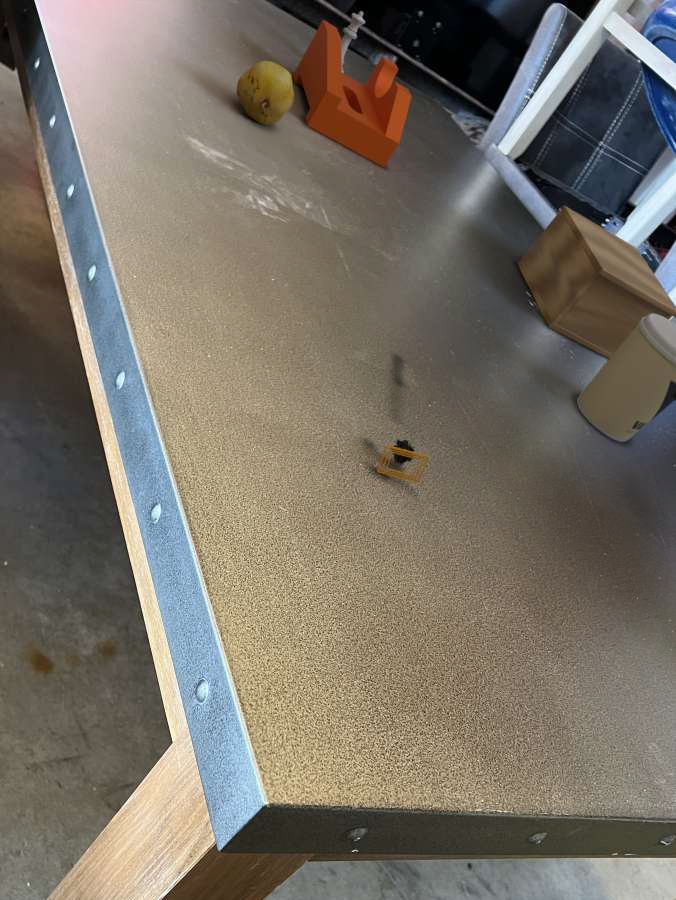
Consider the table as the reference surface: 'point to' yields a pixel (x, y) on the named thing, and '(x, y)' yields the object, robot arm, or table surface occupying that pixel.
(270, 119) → the fruit
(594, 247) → the lid
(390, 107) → the tape dispenser
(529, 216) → the table surface
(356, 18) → the chess piece
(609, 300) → the chest
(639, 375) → the coffee cup
